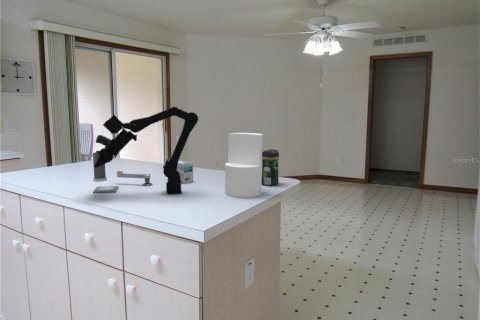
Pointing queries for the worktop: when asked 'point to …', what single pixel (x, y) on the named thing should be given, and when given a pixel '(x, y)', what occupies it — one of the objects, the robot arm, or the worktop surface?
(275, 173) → the coffee jar
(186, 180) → the light bulb box
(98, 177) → the plug
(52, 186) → the worktop surface
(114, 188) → the socket
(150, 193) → the worktop surface
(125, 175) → the bar
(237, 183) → the cylinder
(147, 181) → the grey flanged disc
